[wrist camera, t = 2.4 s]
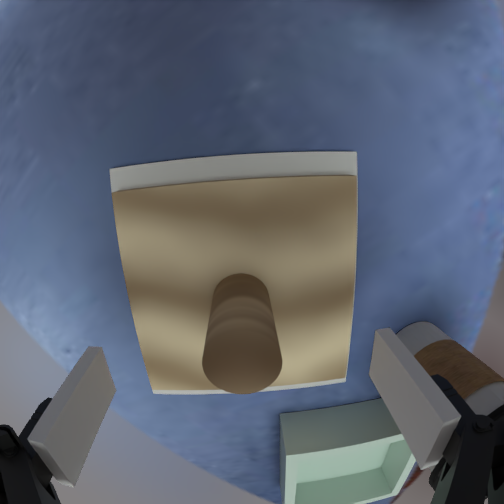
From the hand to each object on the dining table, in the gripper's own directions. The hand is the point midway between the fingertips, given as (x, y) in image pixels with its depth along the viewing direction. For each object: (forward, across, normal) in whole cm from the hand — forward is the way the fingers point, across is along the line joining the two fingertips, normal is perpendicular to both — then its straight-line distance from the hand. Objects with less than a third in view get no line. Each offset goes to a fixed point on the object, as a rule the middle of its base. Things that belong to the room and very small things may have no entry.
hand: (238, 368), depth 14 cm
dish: (+9, +9, -18) cm, 22 cm away
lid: (+8, 0, 0) cm, 8 cm away
